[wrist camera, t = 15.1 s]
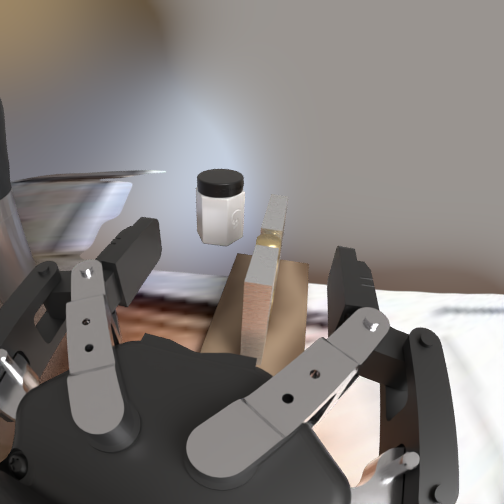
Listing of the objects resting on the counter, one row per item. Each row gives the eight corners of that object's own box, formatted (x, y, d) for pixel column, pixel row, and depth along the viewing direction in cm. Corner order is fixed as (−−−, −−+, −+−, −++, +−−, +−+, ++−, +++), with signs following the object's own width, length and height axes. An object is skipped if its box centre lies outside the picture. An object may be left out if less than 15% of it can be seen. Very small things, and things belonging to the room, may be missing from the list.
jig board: (188, 392, 29) (187, 387, 29) (237, 259, 51) (237, 253, 50) (297, 412, 28) (299, 407, 27) (307, 269, 49) (308, 263, 49)
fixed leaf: (248, 324, 37) (254, 245, 30) (263, 262, 48) (270, 194, 41) (268, 328, 37) (280, 249, 30) (279, 265, 48) (289, 196, 41)
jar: (219, 252, 52) (220, 188, 45) (188, 236, 56) (185, 177, 49) (250, 233, 58) (254, 175, 51) (220, 219, 62) (220, 165, 55)
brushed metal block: (261, 365, 32) (273, 286, 25) (239, 361, 32) (243, 281, 25) (271, 313, 39) (282, 235, 32) (252, 310, 39) (258, 232, 32)
